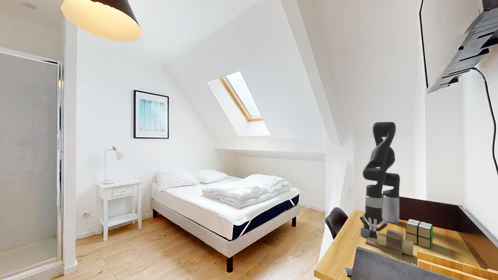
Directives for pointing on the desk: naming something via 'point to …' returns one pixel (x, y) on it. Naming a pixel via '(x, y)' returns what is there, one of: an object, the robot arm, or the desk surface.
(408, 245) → the axle bar
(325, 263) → the desk surface
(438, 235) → the desk surface
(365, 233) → the cradle
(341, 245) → the desk surface
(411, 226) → the puzzle cube
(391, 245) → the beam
